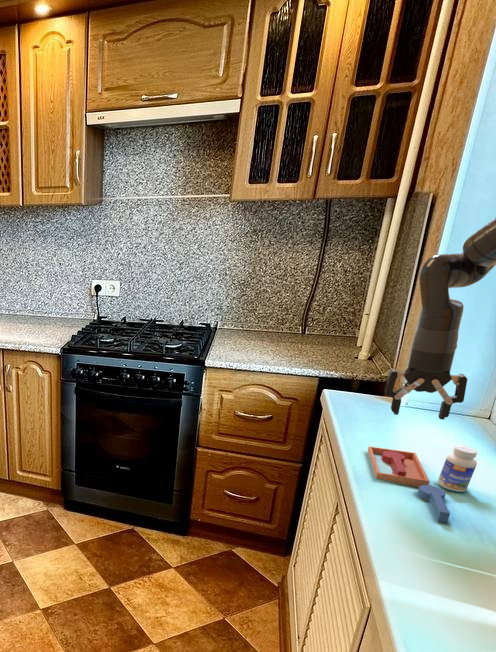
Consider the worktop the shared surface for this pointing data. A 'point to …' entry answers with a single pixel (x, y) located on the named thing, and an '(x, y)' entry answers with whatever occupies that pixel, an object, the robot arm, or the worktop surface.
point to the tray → (411, 465)
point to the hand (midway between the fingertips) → (417, 415)
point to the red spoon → (395, 462)
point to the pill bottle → (458, 469)
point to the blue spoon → (435, 501)
